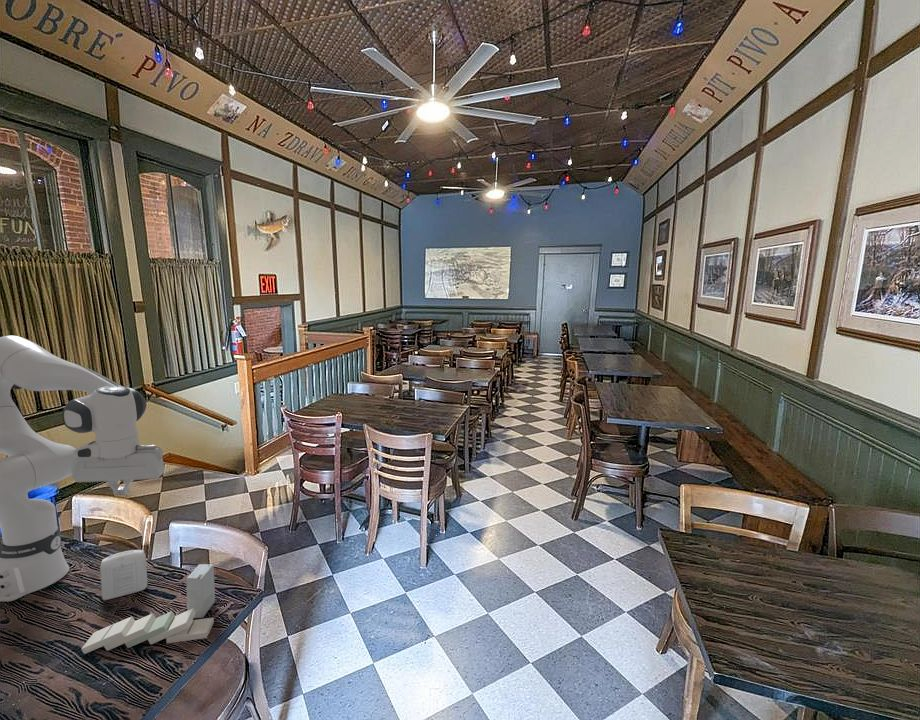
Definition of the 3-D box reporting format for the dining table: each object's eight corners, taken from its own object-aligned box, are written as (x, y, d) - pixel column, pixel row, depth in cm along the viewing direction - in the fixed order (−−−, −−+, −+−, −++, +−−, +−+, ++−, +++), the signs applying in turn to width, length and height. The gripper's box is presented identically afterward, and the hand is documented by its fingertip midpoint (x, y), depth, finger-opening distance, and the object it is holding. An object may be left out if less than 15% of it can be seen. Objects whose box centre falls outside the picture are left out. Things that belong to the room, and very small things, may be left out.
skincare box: (200, 602, 115) (198, 563, 113) (216, 602, 115) (214, 563, 114) (186, 618, 109) (184, 578, 107) (203, 619, 109) (201, 578, 108)
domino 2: (103, 645, 98) (143, 628, 100) (115, 629, 103) (152, 613, 105) (107, 651, 98) (146, 633, 100) (118, 634, 103) (155, 618, 105)
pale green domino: (138, 632, 104) (174, 615, 106) (127, 648, 100) (166, 631, 101) (135, 627, 104) (172, 611, 106) (124, 643, 99) (163, 626, 101)
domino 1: (81, 648, 97) (121, 631, 99) (94, 632, 102) (132, 616, 103) (84, 654, 97) (124, 637, 99) (97, 637, 102) (135, 621, 104)
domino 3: (147, 639, 100) (185, 622, 102) (157, 624, 105) (193, 608, 107) (150, 644, 101) (188, 627, 102) (159, 629, 105) (196, 612, 107)
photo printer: (148, 581, 122) (145, 543, 120) (147, 590, 119) (144, 551, 117) (103, 593, 117) (100, 554, 115) (100, 603, 113) (97, 562, 111)
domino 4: (166, 638, 101) (206, 632, 103) (175, 622, 106) (213, 617, 108) (166, 643, 101) (207, 638, 104) (175, 628, 106) (213, 622, 108)
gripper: (167, 440, 115) (169, 486, 117) (81, 443, 110) (86, 491, 112) (156, 449, 109) (159, 497, 111) (65, 451, 104) (70, 502, 106)
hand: (121, 494), depth 112 cm, fingers closed
